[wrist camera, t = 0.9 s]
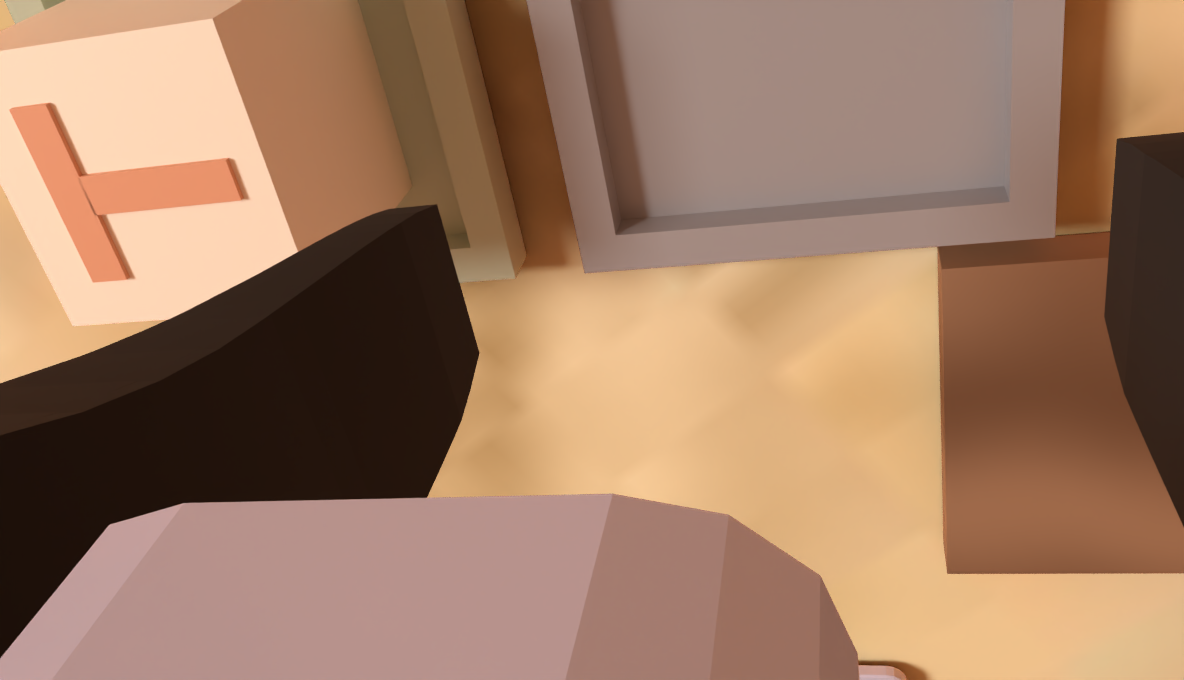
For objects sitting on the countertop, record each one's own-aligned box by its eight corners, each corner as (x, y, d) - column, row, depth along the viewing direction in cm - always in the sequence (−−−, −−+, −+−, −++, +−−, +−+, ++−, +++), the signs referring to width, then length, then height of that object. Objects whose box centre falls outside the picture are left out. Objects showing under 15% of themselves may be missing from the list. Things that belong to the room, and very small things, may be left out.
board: (1327, 540, 23) (1345, 572, 22) (943, 543, 25) (947, 573, 25) (1401, 209, 19) (1427, 235, 18) (937, 245, 21) (941, 269, 20)
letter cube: (412, 186, 22) (316, 311, 18) (204, 207, 24) (69, 329, 19) (340, -60, 20) (209, 20, 16) (111, -22, 21) (-67, 62, 17)
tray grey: (1045, 213, 20) (1054, 237, 20) (593, 250, 23) (584, 272, 22) (1065, -330, 16) (1078, -328, 15) (497, -216, 18) (481, -209, 17)
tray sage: (526, 255, 23) (515, 278, 22) (168, 285, 25) (145, 306, 25) (415, -200, 19) (396, -192, 18) (-10, -114, 21) (-44, -105, 20)
